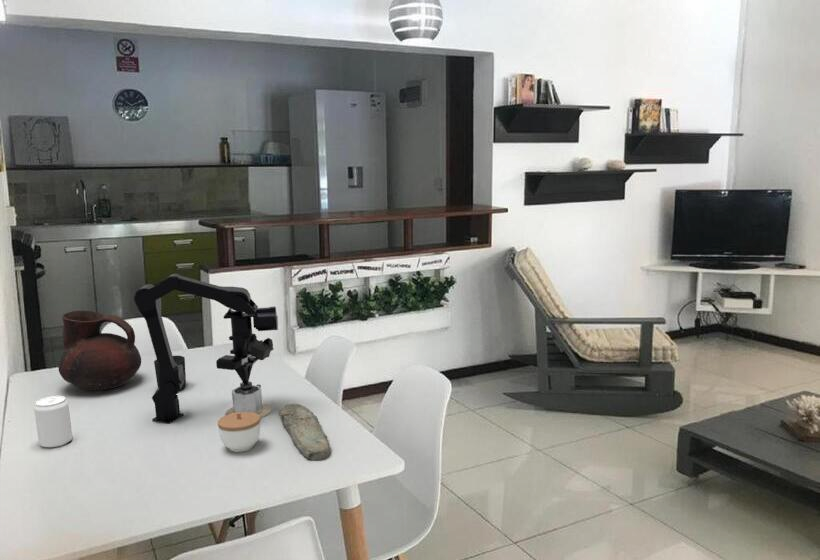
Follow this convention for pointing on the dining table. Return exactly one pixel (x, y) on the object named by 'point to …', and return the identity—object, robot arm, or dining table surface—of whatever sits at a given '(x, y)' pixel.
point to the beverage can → (53, 421)
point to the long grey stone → (305, 431)
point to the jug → (97, 352)
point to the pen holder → (178, 361)
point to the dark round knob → (246, 387)
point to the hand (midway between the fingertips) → (245, 383)
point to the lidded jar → (239, 430)
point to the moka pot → (249, 401)
